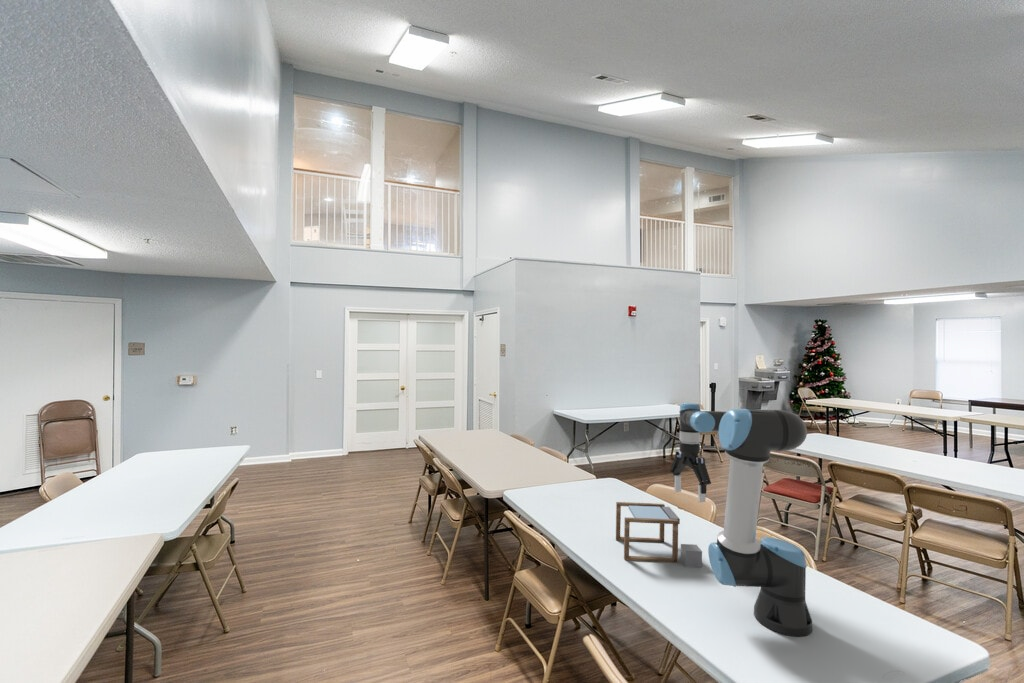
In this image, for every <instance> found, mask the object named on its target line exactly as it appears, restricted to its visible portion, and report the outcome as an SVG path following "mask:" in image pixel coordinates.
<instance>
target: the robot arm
mask: <svg viewBox="0 0 1024 683" xmlns="http://www.w3.org/2000/svg"><path fill="white" fill-rule="evenodd" d="M710 432H716V433H717V432H718V436H719V438H718V439H719V443H720V446H721V447H722V448H723V449H724V452H725V455H727V456H728V457H729V466H728V467H729V468H728V478H727V479H728V480H727V491H726V498H725V499H726V502H725V511H724V522H723V530H722V531H720V532H719V533H718V534H717V541H716V542H710V543H709V544H708V550H707V551H708V553H707V554H708V560H709V563H710V567H711V570H712V573H713V575H714V578H716V580H717V581H718V582H719V584H721V585H723V586H732V587H734V588H735V587H747V588H749V587H752V588H753V587H755V588H760V590H759V592H758V595H757V598H756V600H755V601H754V602H755V603H754V605H753V616H754V618H755V619H756V621H757V622H759V623H760V624H761V625H763V626H764V627H766V628H768V629H769V630H772V631H773V632H777V633H779V634H782V635H787V636H791V637H805V636H808V635H811V633H812V632H813V620H812V616H811V613H810V611H809V607H808V605H807V600H806V586H807V585H806V579H807V578H806V574H807V572H806V568H807V562H806V554H805V553H804V551H803V549H801V548H800V547H798V546H797V545H795V544H793V543H791V542H788V541H786V540H784V539H780V538H776V537H769V536H766V537H762V538H761V540H760V541H758V540H757V539H756V536H757V526H758V516H759V508H760V499H761V498H760V497H761V488H762V479H763V478H762V476H763V469H764V468H763V467H764V464H766V463H768V462H769V461H770V459H771V452H787V451H791V450H795V449H797V448H799V447H800V446H801V445H803V444H804V442H805V440H806V439H807V435H808V429H807V426H806V423H805V422H804V420H803V419H802V418H801V417H800V416H799V415H797V414H796V413H793V412H791V411H787V410H782V409H756V408H755V409H754V408H753V409H751V408H740V409H739V408H737V409H735V408H733V409H730V410H728V411H716V410H715V411H714V410H713V411H712V410H701V405H700V404H699V403H696V402H682V403H680V405H679V450H678V451H675V456H674V458H673V462H672V464H671V466H670V469H669V472H670V473H672V475H673V483H674V493H681V492H682V475H681V474H682V471H684V469H685V468H686V466H688V467H689V468H691V469H692V470H693V473H694V474H695V476H696V478H697V480H698V486H697V487H698V492H697V493H698V495H697V496H698V497H697V498H698V500H697V502H698V503H706V494H707V485H711V484H712V481H711V478H710V475H709V472H708V469H707V465H706V461H705V460H706V459H705V457H699V454H700V453H701V444H700V441H701V434H700V433H704V434H706V433H707V434H708V433H710Z"/></svg>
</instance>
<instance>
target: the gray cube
mask: <svg viewBox="0 0 1024 683" xmlns="http://www.w3.org/2000/svg"><path fill="white" fill-rule="evenodd" d="M680 560H681V562H682V564H683V565H684V566H685V567H687V568H688V567H690V568H702V567H703V551H702V549H701V548H700V547H699V546H698V545H697V544H693V543H692V544H691V543H690V544H689V543H680Z"/></svg>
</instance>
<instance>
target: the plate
mask: <svg viewBox="0 0 1024 683" xmlns="http://www.w3.org/2000/svg"><path fill="white" fill-rule="evenodd" d="M628 510H629V512H630V513H631V515H632V518H651V519H675V520H678V525H681V524H680V523H681V522H680V520H681V519H680V517H679V516H678V515H677V514H676V513H675V512H674V511H673V509H672V508H671V507H670V506H665V507H662V509H661V508H660V507H657V506H631V505H629V506H628Z"/></svg>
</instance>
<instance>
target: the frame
mask: <svg viewBox="0 0 1024 683" xmlns="http://www.w3.org/2000/svg"><path fill="white" fill-rule="evenodd" d="M629 505H631V506H657V507H660V508H661V509H662V507H666V505H665V504H664V503H652V502H651V503H650V502H629V501H628V502H625V501H616V504H615V510H616V512H615V540H616V541H618V542H619V541H623V544H624V545H623V559H624V561H635V562H636V561H637V562H655V563H656V562H658V563H659V562H660V563H678V561H679V560H678V559H679V524H678V520H675V519H651V518H634V517H624V526H623V527H624V530H623V531H624V532H623V533H624V534H623V535H624V536H621V523H622V522H621V519H622V518H621V517H622V516H621V515H622V514H621V513H622V512H621V511H622V507H629ZM630 523H636V524H637V523H639V524H640V523H641V524H659V534H658V535H659V536H658V537H659V538H658V537H636V536H633V537H632V536H630V525H631V524H630ZM665 524H667V525H668V524H669V525H672V538H671V539H672V547H671V548H672V549H671V550H672V551H671V554H672V555H671V556H672V557H667V556H665V557H664V556H663V557H661V556H641V555H640V556H639V555H637V556H636V555H630V542H640V543H641V542H643V543H644V542H645V543H665Z"/></svg>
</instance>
